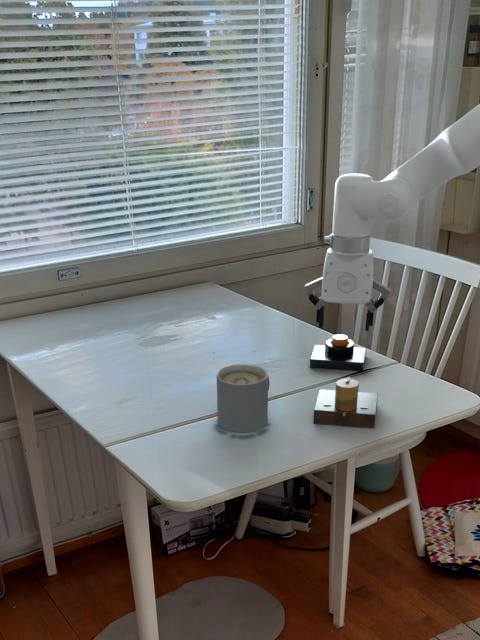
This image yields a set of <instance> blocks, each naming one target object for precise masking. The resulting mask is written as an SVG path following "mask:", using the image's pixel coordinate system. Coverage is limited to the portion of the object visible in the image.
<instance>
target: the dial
mask: <svg viewBox="0 0 480 640" xmlns="http://www.w3.org/2000/svg"><path fill="white" fill-rule="evenodd" d="M346 377H347V378H340V379H337V380H336V381H335V390H336V391H335V408H336V409H338V410H340V411H353V410H355V409H356V408H357V400H358V392H359V386H360V383H359V381H358V380H356V379H353V378H351V377H350V376H346Z"/></svg>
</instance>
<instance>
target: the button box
mask: <svg viewBox="0 0 480 640" xmlns="http://www.w3.org/2000/svg"><path fill="white" fill-rule="evenodd" d="M366 352H367V348H366V347H355V341H353V340H352V339H349V338H348V345H346V346H335V345H332V337H331V338H329V339H327V340H325V342H324V344H314V346H313V349H312V352H311V356H310V359H309V369H319V370H334V371H348V372H361V373H363V372H364V368H365V367H364V366H365V361H366V354H367V353H366Z"/></svg>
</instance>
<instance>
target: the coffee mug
mask: <svg viewBox="0 0 480 640" xmlns="http://www.w3.org/2000/svg"><path fill="white" fill-rule="evenodd" d="M269 390H270V376H269V373H268V371H267V370H266V369H264V368H263V367H262V366H257V365H253V364H248V363H247V364H245V363H244V364H243V363H241V364H240V363H239V364H232V365H228V366H224V367H222V368H221V369H219V370H218V371H217V372H216V405H217V424H218V426H219V427H220V428H222V429H223V430H225V431H228V432H232V433H240V434H241V433H242V434H243V433H244V434H245V433H252V432H256V431H259V430H261V429H263V428H265V427H266V426H267V424H268V413H269V412H268V409H269V407H268V405H269Z"/></svg>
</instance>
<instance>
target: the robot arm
mask: <svg viewBox="0 0 480 640" xmlns="http://www.w3.org/2000/svg"><path fill="white" fill-rule="evenodd" d="M479 166H480V103H479V104H477V105H476V106H475V107H474V108H472V109H471V110H469V111H467V113H465V114H464V115H463V116H462V117H460V118H458V119H457V120H456V121H455V122H453V123H452V124H450V125H449V126H448V127H447V128H446V129H444V130H443V131H442V132H441V133H440V134H439V135H438V136H437V137H436V138H435V139H434V140H433V141H431V142H430V143H429V144H428V145H427V146H425V147H424V148H422V149H421V150H420V151H419V152H417V153H416V154H415V155H413V156H412V157H410V158H408V160H407V161H406V162H404V163H403V164H401V165H400V166H398V167H397V168H396V169H395V170H393V171H392V172H391V173H389V174H388V175H387V176H386V177H385V178H383V179H382V180H374V178H373V177H372V176H370V175H368V174H365V173H345V174H342V175H340V176H338V178H337V179H336V181H335V184H334V197H333V211H332V212H333V213H332V229H331V233H330V234H329V235H324V238H323V239H324V240H323V243H324V244H327V245H329V246H330V247H329V248H327V250H326V253H325V258H324V263H323V268H322V269H323V270H322V276H321V277H319V278H317V279H315V280H313V281H310V282H308V283H305V285H304V291H305V293H306V296H307V297H308V300H309V301H310V303H312V305H313V306H314V307H315V309H316V315H315V316H316V317H315V322H316V323H317V324H318V329H323V326H324V321H325V320H324V319H325V308H326V307H325V305H326V303H331V304H346V305H347V304H348V305H364V306H366V308H367V309H366V317H365V328H364V330H365V331H366V332H369V331H370V327H373V325H374V315H375V312H376V310H378V309H379V308H380V307H381V306H382V305H383V304H384V303H385V301H386V300H387V298H388V297H389V295H390V293H391V289H390V288H389V287H387V286H385V285H384V284H382V283H380V282H379V281H377V280H375V278H374V253H373V250H372V249H370V247H371V246H370V245H371V235H372V234H371V232H372V224H373V223H372V221H377V222H380V223H384V224H385V223H386V224H393V223H398V222H400V221H402V220H403V219H405V217H406V216H408V214H409V213H410V212H411V210H412V208H413V207H414V206H415V205H416V204H417V203H419V202H420V201H422V200H423V199H424V198H426V197H427V196H428V195H430V194H431V193H433V192H434V191H435V190H437V189H438V188H440V187H441V186H443V185H444V184H446V183H447V182H449V181H450V180H452V179H454V178H457V177H459V176H463V175H467V174H468V173H470V172H472V171H474V170H476V169H477V168H478V167H479ZM319 287H321V289H320V290H321V292H320V294H321V295H320V297H318V296H317V295H316V293H315V291H314V289H317V288H319ZM373 289H374V290H375V291H377V292H379V293H380V295H379V297H377V298H376V299H375V300H374V299H373V298H372V295H373Z"/></svg>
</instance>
